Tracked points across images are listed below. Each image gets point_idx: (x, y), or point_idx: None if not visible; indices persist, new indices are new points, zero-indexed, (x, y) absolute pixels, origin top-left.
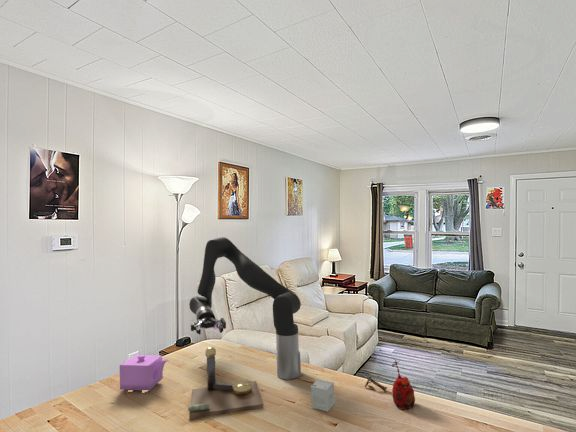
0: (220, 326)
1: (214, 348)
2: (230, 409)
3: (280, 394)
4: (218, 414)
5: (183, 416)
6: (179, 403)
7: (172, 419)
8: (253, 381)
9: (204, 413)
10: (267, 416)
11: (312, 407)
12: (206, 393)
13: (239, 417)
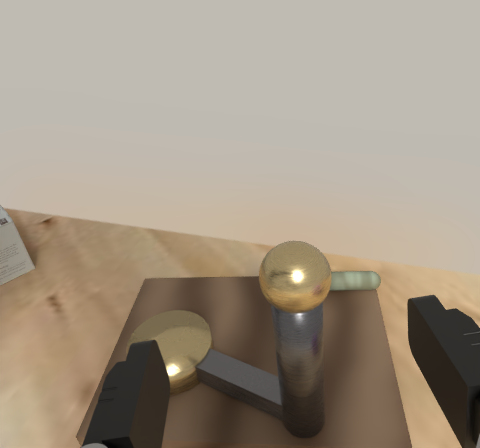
0: (137, 369)
1: (267, 256)
2: (243, 278)
3: (52, 344)
4: None
5: (397, 302)
6: None
7: None
8: None
9: None
10: (155, 260)
11: (34, 266)
12: (327, 385)
13: (224, 269)
